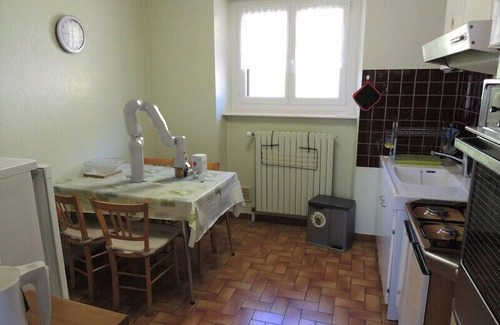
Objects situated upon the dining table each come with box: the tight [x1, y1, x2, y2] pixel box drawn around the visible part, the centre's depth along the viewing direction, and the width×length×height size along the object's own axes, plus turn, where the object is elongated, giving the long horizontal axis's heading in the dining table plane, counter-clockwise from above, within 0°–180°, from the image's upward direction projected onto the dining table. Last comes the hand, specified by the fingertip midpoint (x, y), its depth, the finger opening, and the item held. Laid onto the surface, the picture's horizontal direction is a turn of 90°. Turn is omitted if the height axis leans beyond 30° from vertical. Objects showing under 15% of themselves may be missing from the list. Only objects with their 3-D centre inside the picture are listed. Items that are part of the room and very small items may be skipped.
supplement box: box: [191, 153, 208, 174], centre depth 281 cm, size 9×9×15 cm
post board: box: [172, 172, 206, 183], centre depth 263 cm, size 22×18×6 cm
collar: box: [174, 168, 189, 178], centre depth 266 cm, size 7×7×6 cm
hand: (181, 175), depth 266 cm, fingers closed on collar, 7 cm apart
